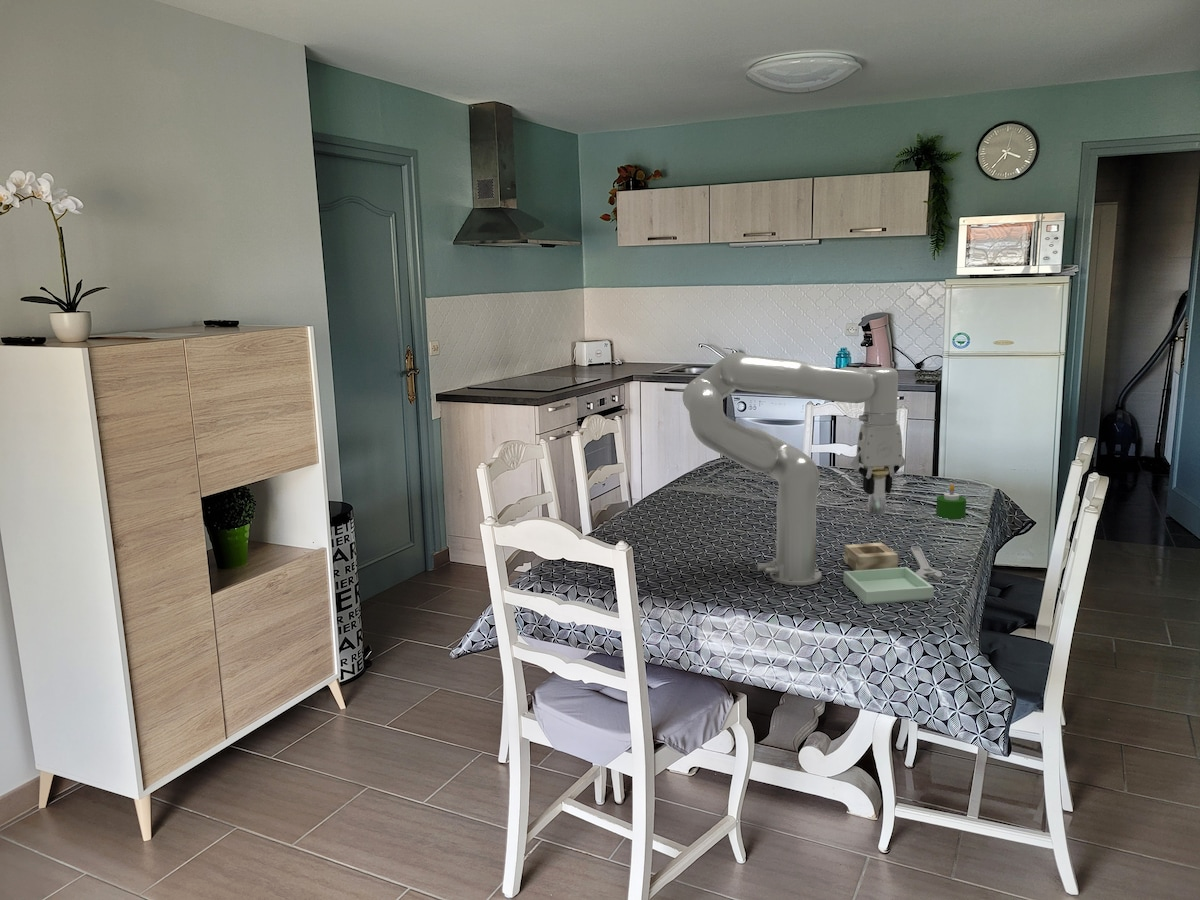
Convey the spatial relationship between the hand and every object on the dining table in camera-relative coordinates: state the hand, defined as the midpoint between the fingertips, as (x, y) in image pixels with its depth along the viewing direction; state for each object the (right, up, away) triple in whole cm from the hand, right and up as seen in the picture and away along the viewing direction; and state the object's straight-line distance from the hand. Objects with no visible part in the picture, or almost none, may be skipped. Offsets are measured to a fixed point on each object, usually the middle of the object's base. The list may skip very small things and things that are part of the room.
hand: (877, 491), depth 216 cm
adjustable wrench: (+15, -20, +9) cm, 26 cm away
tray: (0, -23, -7) cm, 24 cm away
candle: (+38, -10, +50) cm, 64 cm away
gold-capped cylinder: (0, -5, +1) cm, 5 cm away
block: (+1, -20, +9) cm, 22 cm away
